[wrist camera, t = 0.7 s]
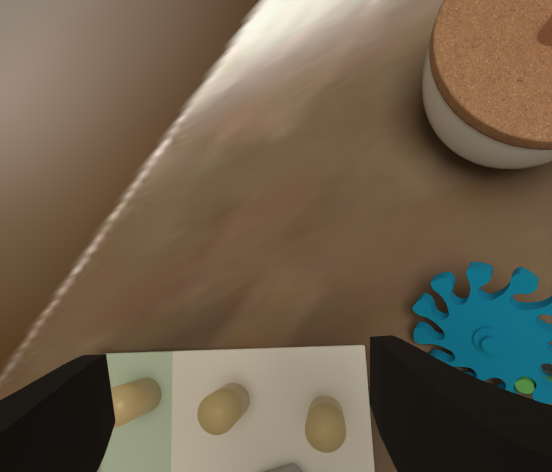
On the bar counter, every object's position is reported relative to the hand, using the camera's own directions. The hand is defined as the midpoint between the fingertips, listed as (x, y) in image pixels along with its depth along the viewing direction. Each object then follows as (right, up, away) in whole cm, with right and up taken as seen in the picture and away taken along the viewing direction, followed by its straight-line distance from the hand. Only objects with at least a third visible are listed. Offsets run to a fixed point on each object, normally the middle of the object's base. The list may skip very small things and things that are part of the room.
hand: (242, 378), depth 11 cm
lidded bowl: (+18, +13, +22) cm, 31 cm away
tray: (-2, -13, +18) cm, 23 cm away
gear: (+15, -4, +18) cm, 24 cm away
